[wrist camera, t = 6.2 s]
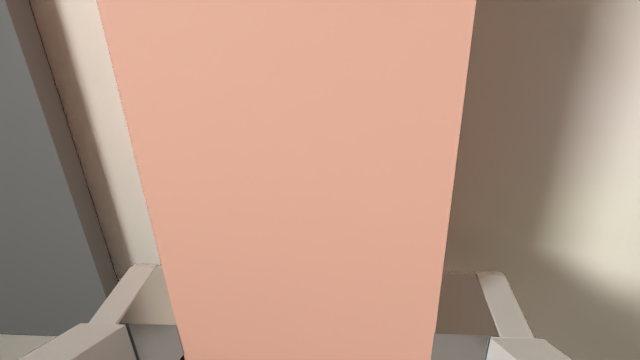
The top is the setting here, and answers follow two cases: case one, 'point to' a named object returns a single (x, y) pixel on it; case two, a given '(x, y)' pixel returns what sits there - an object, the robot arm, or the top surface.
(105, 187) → the top surface
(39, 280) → the mat
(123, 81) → the pink rectangular block
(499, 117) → the top surface
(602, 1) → the top surface
